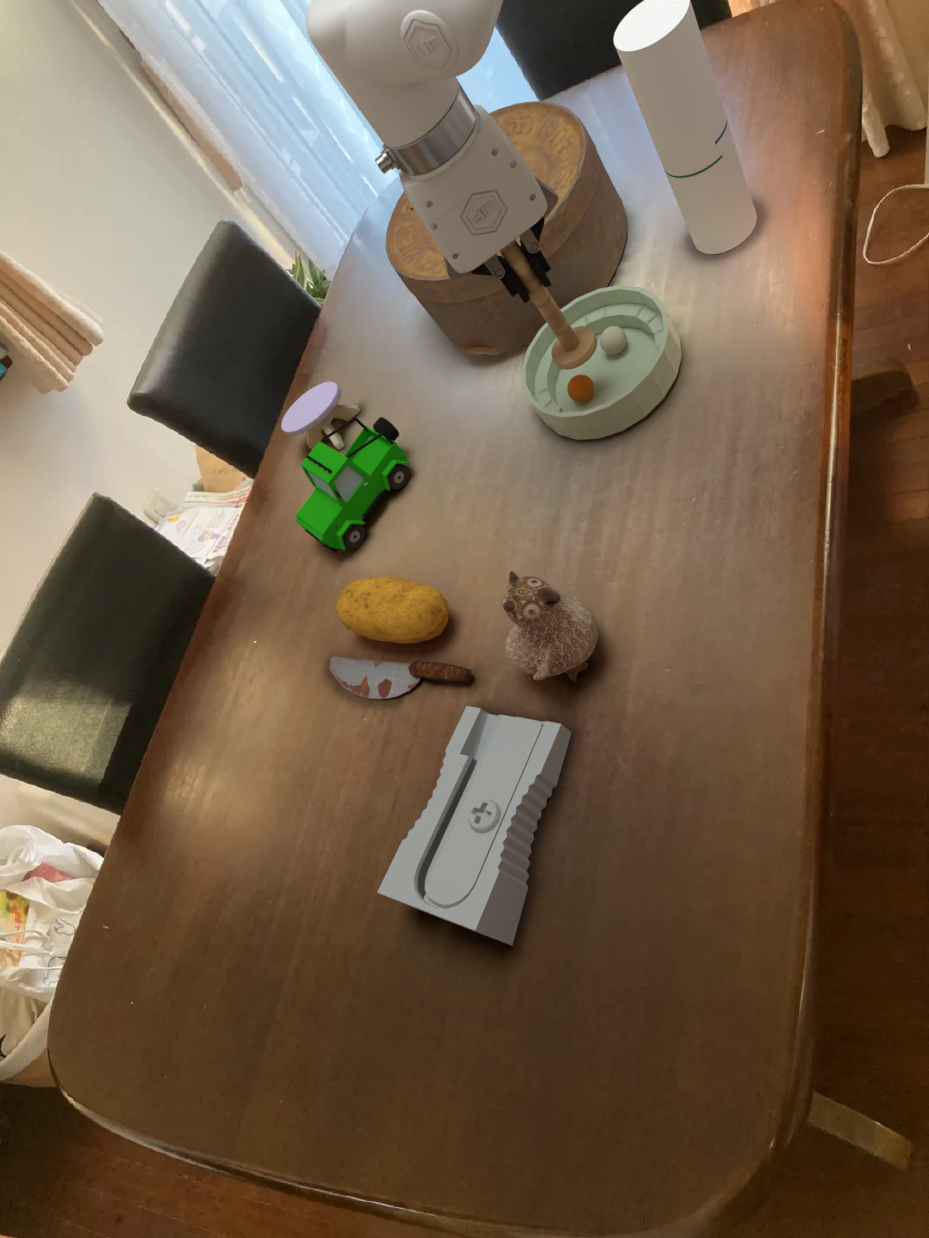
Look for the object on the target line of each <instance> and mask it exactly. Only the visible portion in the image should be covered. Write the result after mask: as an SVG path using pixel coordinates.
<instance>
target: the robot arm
mask: <svg viewBox="0 0 929 1238" xmlns="http://www.w3.org/2000/svg"><path fill="white" fill-rule="evenodd" d="M503 2H504V0H311V2H310V4H309V5H308V8H307V12H306V17H305V27H306V31H307V35H308V38H309V40H310V42H311V44H312V45H313V47H314V48H315V50H316V52H317V54H319V56H320V58H322V60H323V62H324V63H325V64H326V65H327V68H329V70H330V71H331V72H332V74H333V75H334V77H335V79H337V81H338V82H339V84H340V85H341V87H342V88H343V89H344V90H345V92H346V93H347V94H348V96H349V97H350V99H351V100H352V102H353V103H354V104H355V106H356V108H357V109H358V110H359V112H360V113H361V114H362V115H363V117H364V119H366V121H367V122H368V124H369V125H370V127H371V128H372V129H373V131H374V133H376V135H377V137H378V138H379V139H380V140H381V142H382V143H383V144H382V145H381V146H382V150H381V151H380V154H379V155H378V156H377V157H376V158H375V159H374V162H375V164H376V165H377V167H378V168H379V170H380V171H381V173H382V174H383V175H385V174H387V173H388V172H389V171H390V170H391V171H392V170H394V169H395V168H396V170H397V171H399V173H398V176H399V180H400V185H401V186H402V189H403V192H404V191H405V193H406V196H407V198H408V200H409V202H410V203H411V205H412V207H413V209H414V211H415V212H416V214H417V216H418V217H419V219H420V221H421V222H422V224H423V225H424V227H425V228H426V230H427V232H428V233H429V235H430V236H431V238H432V239H433V241H434V242H435V244H436V245H437V247H438V248H439V250H440V251H441V252H442V254H443V258H444V263H445V267H446V271H447V273H448V276H449V278H450V279H451V280H457V279H460V278H463V277H466V276H469V275H470V274H475V275H489V276H494V278H496V279H500V280H501V281H502V283H503V284H504V286H505V287H506V289H507V290H508V292H509V293H510V294H511V296H512V297H514V296H515V295H516V294H519V296H520V297H521V299H522V300H523V302H524V303H527V302H528V301H529V299H530V297H529V295H528V293H527V291H526V290H525V288H524V287H523V285H522V284H521V282H520V281H519V279H518V278H517V276H516V275H515V273H514V272H513V270H512V269H511V267H510V266H509V265H508V263H507V262H506V260H505V259H504V258H503V257H502V256H498V255H497V254H496V253H498V252H499V251H500V250H502V249H503V248H504V247H506V246H507V245H508V244H510V243H511V242H512V241H514V240H515V239H516V238H518V237H520V244H521V245H520V247H521V249H522V250H523V252H524V254H525V257H526V258H527V260H528V262H529V264H530V265H531V267H532V268H533V270H534V271H535V273H536V274H537V276H538V278H539V279H540V281H541V282H542V284H543V285H544V287H547V288H548V287H549V286H551V285H552V284H551V282H550V280H549V278H548V276H547V275H546V273H547V272H548V271H550V270H551V267H550V266H549V264H548V262H547V260H546V259H545V257H544V256H543V254H542V252H541V251H540V244H539V240H540V236H541V233H542V229H543V226H544V222H545V218H546V217H548V216H549V214H550V213H551V211H552V210H553V209H554V207H555V206H556V204H557V203H558V201H559V198H558V196H557V194H556V192H555V191H554V190H553V189H552V188H551V187H549V186H548V185H546V184H545V183H543V182H542V181H540V180H539V179H537V178H536V177H534V175H533V174H532V172H531V171H530V169H529V167H528V166H527V164H526V163H525V161H524V160H523V158H522V156H521V155H520V153H519V152H518V150H517V149H516V147H515V146H514V144H513V143H512V141H511V140H510V139H509V137H508V136H507V134H506V133H505V132H504V130H503V129H502V128H501V127H500V125H499V124H498V123H497V122H496V121H495V119H494V118H493V117H492V116H491V115H490V114H489V113H490V112H488V111H487V110H486V109H485V108H484V107H483V106H482V105H480V104H472V101H471V100H470V98H469V96H468V95H467V93H466V92H465V89H464V88H463V87H462V84H461V83H460V82H459V80H458V78H457V77H459V76H461V75H464V74H465V73H467V72H468V71H470V70H472V69H473V68H474V67H475V66H476V65H477V64H478V63H479V62H480V61H481V59H482V58H483V56H484V55H485V54H486V51H487V49H488V47H489V44H490V42H491V39H492V37H493V33H494V30H495V27H496V25H497V22H498V19H499V16H500V13H501V9H502V6H503ZM532 197H533V198H532Z"/></svg>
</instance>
